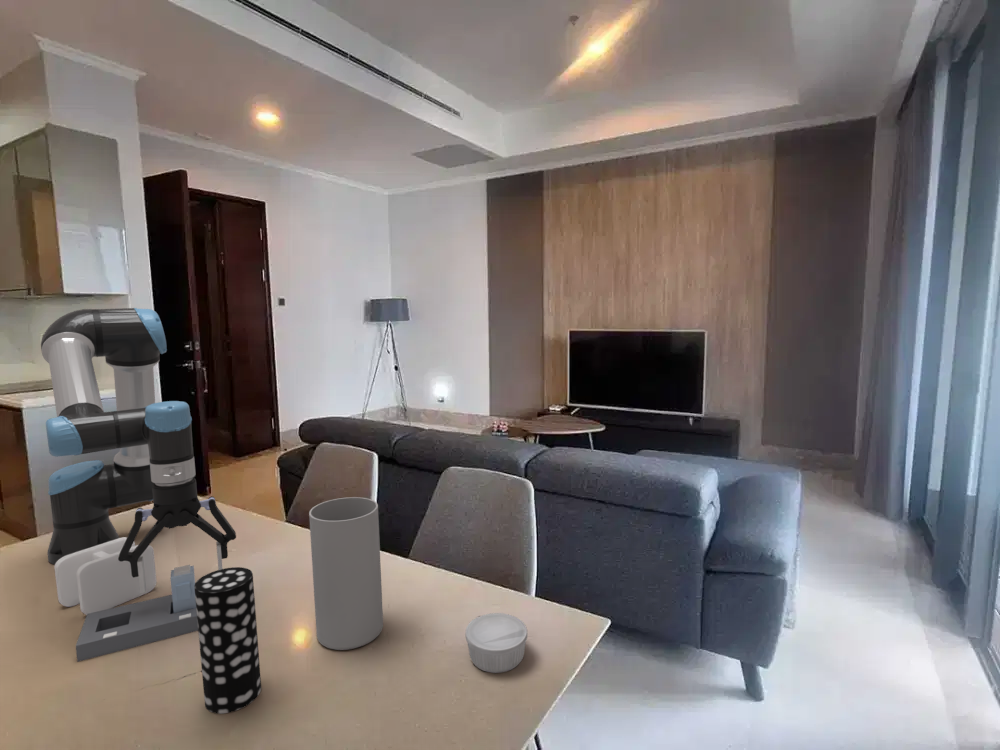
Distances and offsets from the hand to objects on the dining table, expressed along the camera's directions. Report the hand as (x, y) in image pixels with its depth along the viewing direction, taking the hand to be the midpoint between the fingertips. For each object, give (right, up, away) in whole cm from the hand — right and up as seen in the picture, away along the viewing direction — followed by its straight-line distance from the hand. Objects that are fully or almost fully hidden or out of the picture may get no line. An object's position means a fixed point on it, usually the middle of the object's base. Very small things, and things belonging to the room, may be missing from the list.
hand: (183, 582), depth 111 cm
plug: (0, -8, +1) cm, 8 cm away
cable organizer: (-22, -8, +9) cm, 25 cm away
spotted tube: (+20, -11, -21) cm, 31 cm away
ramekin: (+63, -9, -12) cm, 65 cm away
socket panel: (-5, -9, -2) cm, 10 cm away
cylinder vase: (+35, -8, -4) cm, 36 cm away
